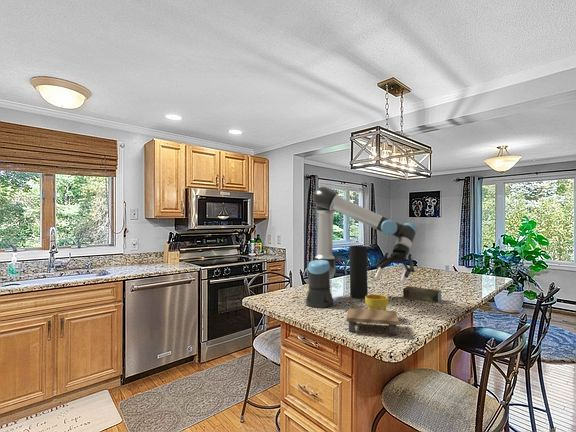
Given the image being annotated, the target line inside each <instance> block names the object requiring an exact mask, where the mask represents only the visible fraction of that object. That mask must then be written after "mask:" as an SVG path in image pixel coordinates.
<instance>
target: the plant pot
mask: <svg viewBox="0 0 576 432" xmlns="http://www.w3.org/2000/svg"><path fill="white" fill-rule="evenodd" d="M364 300H365V301H364V302H365V305H366V307H367V310H384V311H387V307H388V306H389V297H388V296H387V295H386V294H385V295H384V294H377V293H376V294H375V293H374V294H368V295H367V296H365V298H364Z"/></svg>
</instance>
